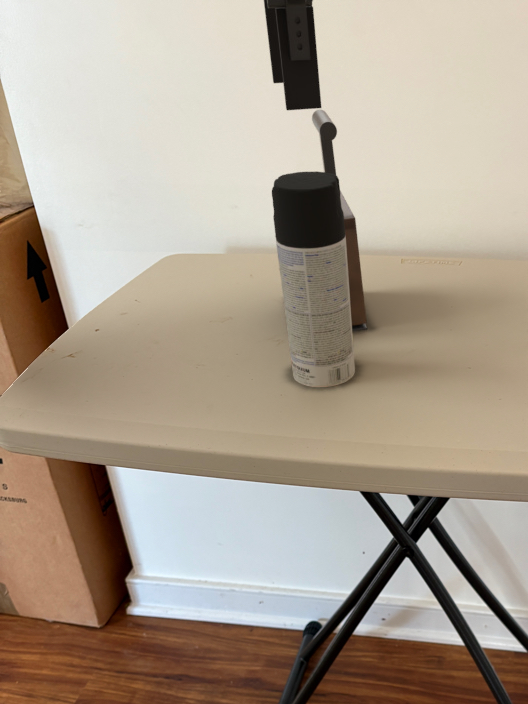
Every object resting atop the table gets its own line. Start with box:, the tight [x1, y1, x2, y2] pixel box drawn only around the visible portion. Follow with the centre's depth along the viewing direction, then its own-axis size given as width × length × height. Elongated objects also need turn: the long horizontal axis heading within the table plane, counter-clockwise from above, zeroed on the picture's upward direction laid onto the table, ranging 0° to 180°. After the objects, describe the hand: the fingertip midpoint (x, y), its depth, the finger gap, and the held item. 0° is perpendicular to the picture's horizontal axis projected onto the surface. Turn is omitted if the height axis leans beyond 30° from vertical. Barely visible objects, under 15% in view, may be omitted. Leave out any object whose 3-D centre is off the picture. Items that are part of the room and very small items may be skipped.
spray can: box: [271, 170, 356, 388], centre depth 75 cm, size 7×7×20 cm
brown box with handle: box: [311, 109, 367, 326], centre depth 86 cm, size 8×12×21 cm, turn 12°
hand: (295, 94), depth 65 cm, fingers open, 13 cm apart
